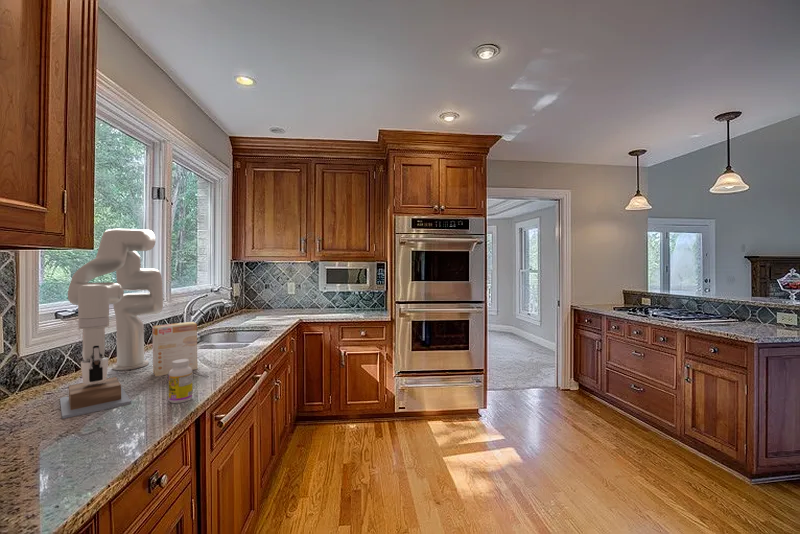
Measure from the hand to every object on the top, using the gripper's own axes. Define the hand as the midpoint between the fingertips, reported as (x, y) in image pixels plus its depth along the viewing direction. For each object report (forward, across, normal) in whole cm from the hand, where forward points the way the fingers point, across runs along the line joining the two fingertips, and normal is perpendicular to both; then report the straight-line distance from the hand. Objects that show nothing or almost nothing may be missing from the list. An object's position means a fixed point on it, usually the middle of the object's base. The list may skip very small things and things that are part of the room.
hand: (94, 377), depth 116 cm
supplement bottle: (+8, +18, +20) cm, 28 cm away
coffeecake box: (+8, -20, +27) cm, 34 cm away
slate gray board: (+8, 0, 0) cm, 8 cm away
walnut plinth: (+8, 0, 0) cm, 8 cm away
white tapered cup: (+1, 0, 0) cm, 1 cm away
